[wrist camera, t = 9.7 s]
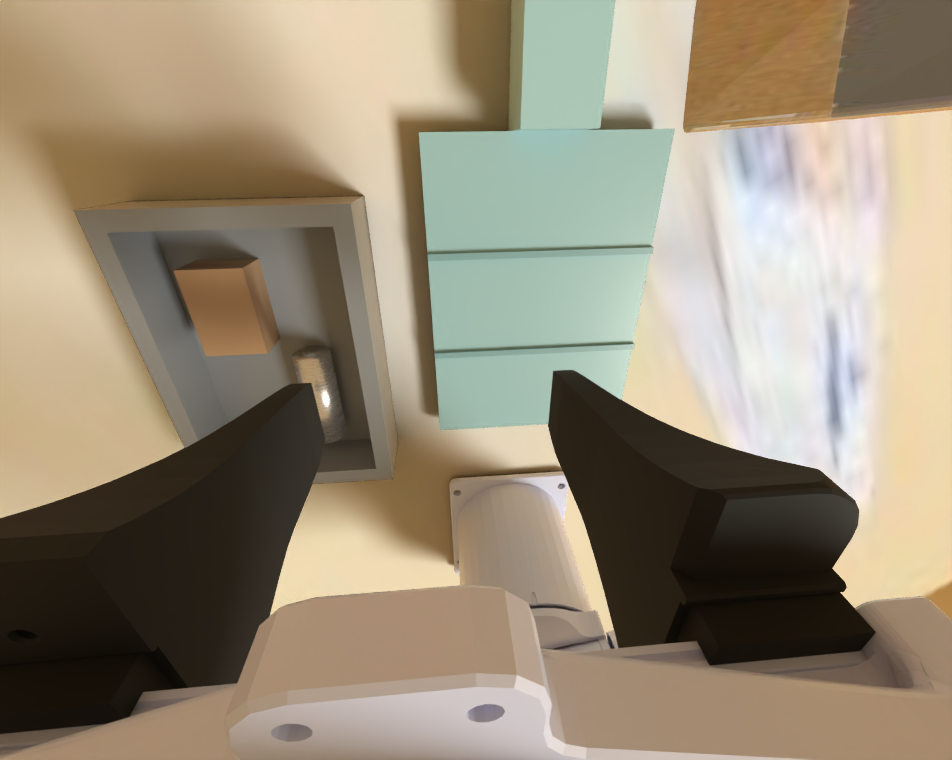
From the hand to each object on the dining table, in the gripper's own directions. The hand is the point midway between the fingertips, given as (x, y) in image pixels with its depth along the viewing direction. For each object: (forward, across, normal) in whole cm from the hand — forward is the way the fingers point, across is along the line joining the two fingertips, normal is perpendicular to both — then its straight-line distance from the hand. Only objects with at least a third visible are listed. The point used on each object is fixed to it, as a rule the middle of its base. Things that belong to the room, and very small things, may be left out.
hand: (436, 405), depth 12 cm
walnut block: (+9, +10, 0) cm, 13 cm away
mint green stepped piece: (+10, -5, -2) cm, 11 cm away
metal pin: (+9, +6, +4) cm, 12 cm away
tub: (+10, +8, +2) cm, 13 cm away
